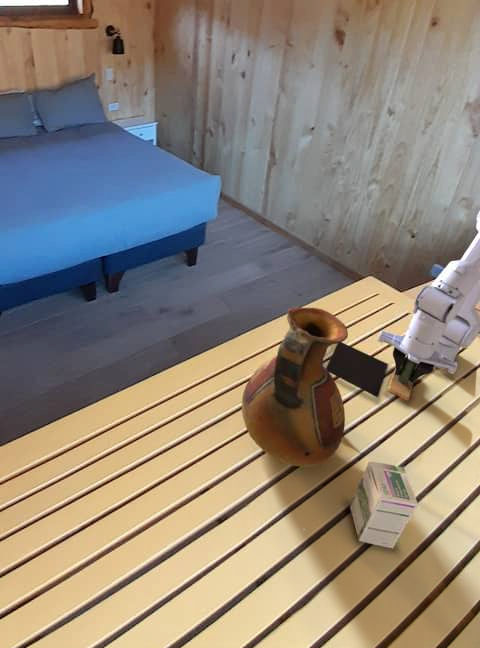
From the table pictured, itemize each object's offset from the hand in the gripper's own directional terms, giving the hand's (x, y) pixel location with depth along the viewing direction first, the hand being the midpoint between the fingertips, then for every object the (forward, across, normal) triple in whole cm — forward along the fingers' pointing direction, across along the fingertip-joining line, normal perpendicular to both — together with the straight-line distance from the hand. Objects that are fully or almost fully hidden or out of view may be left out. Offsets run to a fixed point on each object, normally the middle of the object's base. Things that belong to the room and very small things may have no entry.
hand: (404, 375), depth 95 cm
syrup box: (+4, +1, -36) cm, 36 cm away
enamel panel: (+4, -9, -2) cm, 10 cm away
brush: (+4, 0, 0) cm, 4 cm away
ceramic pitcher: (+4, -17, -28) cm, 33 cm away
